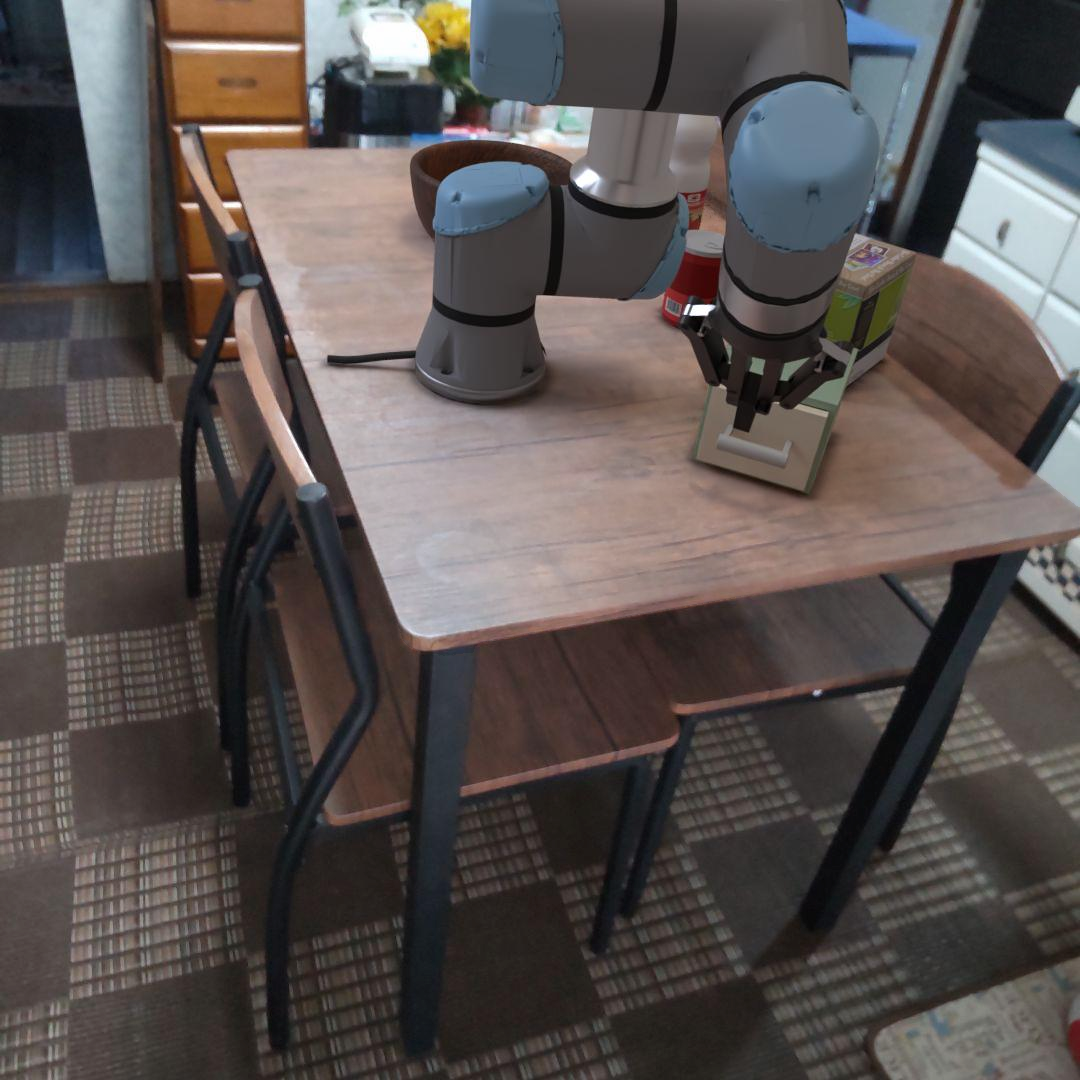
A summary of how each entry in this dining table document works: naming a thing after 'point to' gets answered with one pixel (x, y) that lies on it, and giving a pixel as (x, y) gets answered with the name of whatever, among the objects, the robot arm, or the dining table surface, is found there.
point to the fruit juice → (693, 161)
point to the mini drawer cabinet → (821, 398)
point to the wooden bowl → (455, 155)
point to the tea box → (869, 299)
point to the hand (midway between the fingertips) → (745, 416)
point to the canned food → (695, 273)
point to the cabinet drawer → (763, 441)
